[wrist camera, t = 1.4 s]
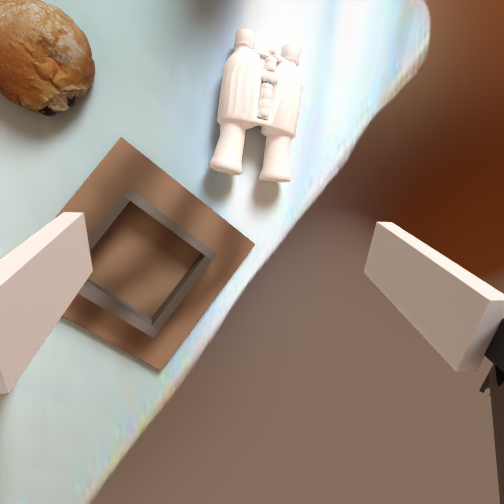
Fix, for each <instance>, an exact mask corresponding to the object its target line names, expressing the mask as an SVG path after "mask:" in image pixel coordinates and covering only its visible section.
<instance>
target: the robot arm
mask: <svg viewBox="0 0 504 504" xmlns="http://www.w3.org/2000/svg"><path fill="white" fill-rule="evenodd" d="M92 271H93V268H92V262H91V256H90V249H89V243H88V237H87V230H86V224H85V218H84V213H80V212H63V213H62V214H60V215H59V216H58V217H56V218H55V219H54V220H52V221H51V222H50V223H48V224H47V225H46V226H44V227H43V228H42V229H41V230H39V231H38V232H37V233H35V234H34V235H33V236H31V237H30V238H29V239H27V240H26V241H25V242H23V243H22V244H21V245H19V246H18V247H17V248H15V249H14V250H13V251H11V252H10V253H9V254H7V255H6V256H5V257H3V258H2V259H1V260H0V394H6V393H10V391H11V390H12V388H13V387H14V385H15V384H16V382H17V381H18V379H19V378H20V376H21V375H22V374H23V372H24V371H25V369H26V368H27V366H28V365H29V363H30V362H31V360H32V359H33V358H34V356H35V355H36V353H37V352H38V350H39V349H40V347H41V346H42V344H43V343H44V341H45V340H46V339H47V337H48V336H49V334H50V333H51V331H52V330H53V328H54V327H55V325H56V324H57V323H58V321H59V320H60V318H61V317H62V315H63V314H64V312H65V311H66V309H67V308H68V306H69V305H70V304H71V302H72V301H73V299H74V298H75V296H76V295H77V293H78V292H79V290H80V289H81V288H82V286H83V285H84V283H85V282H86V280H87V279H88V277H89V276H90V274H91V273H92ZM364 273H365V274H366V275H367V276H368V277H369V279H371V281H372V282H373V283H374V284H375V285H376V286H377V287H378V288H379V289H380V290H381V291H382V292H383V294H384V295H386V297H387V298H388V299H389V300H390V301H391V302H392V303H393V304H394V305H395V306H396V308H397V309H398V310H399V311H400V312H401V313H402V314H403V315H404V316H405V317H406V318H407V319H408V320H409V322H410V323H411V324H412V325H413V326H414V327H415V328H416V329H417V330H418V331H419V332H420V333H421V334H422V336H423V337H424V338H425V339H426V340H427V341H428V342H429V343H430V344H431V345H432V346H433V347H434V348H435V349H436V351H437V352H438V353H439V354H440V355H441V356H442V357H443V358H444V359H445V360H446V361H447V362H448V363H449V365H451V367H452V368H453V369H454V370H455V371H456V372H458V371H476V370H477V369H478V368H479V366H480V364H481V362H482V359H483V358H484V356H486V357H487V358H488V359H489V360H490V361H491V362H493V366H492V367H491V369H490V371H489V373H488V375H487V377H486V379H485V380H484V382H483V384H482V386H481V388H480V392H484V391H485V389H487V388H490V396H491V405H492V416H493V427H494V438H495V450H496V461H497V472H498V484H499V495H500V504H504V294H503V293H501V292H499V291H498V290H496V289H495V288H493V287H491V286H490V285H488V284H487V283H485V282H484V281H482V280H480V279H479V278H478V277H476V276H475V275H473V274H471V273H470V272H468V271H467V270H465V269H464V268H462V267H460V266H459V265H457V264H456V263H454V262H453V261H451V260H450V259H448V258H446V257H445V256H443V255H442V254H440V253H439V252H437V251H436V250H434V249H432V248H431V247H429V246H428V245H426V244H425V243H423V242H422V241H420V240H418V239H417V238H415V237H413V236H412V235H411V234H409V233H407V232H406V231H404V230H403V229H401V228H400V227H398V226H396V225H395V224H393V223H392V222H377V223H376V227H375V231H374V235H373V239H372V243H371V246H370V250H369V254H368V258H367V262H366V266H365V270H364Z"/></svg>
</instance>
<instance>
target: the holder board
mask: <svg viewBox="0 0 504 504" xmlns="http://www.w3.org/2000/svg"><path fill="white" fill-rule="evenodd" d="M63 212H80V213H84V218H85V224H86V230H87V237H88V243H89V249H90V256H91V262H92V268H93V271H92V273H91V274H90V276H89V277H88V279H87V280H86V282H85V283H84V285H83V286H82V288H81V289H80V290H79V292H78V293H77V295H76V296H75V298H74V299H73V301H72V302H71V304H70V305H69V306H68V308H67V309H66V311H65V312H64V314H63V315H62V316H63V317H65V318H67V319H69V320H70V321H72V322H74V323H76V324H78V325H79V326H81V327H83V328H85V329H87V330H88V331H90V332H92V333H94V334H96V335H97V336H99V337H101V338H103V339H105V340H106V341H108V342H110V343H112V344H114V345H115V346H117V347H119V348H121V349H123V350H124V351H126V352H128V353H130V354H132V355H133V356H135V357H137V358H139V359H141V360H142V361H144V362H146V363H148V364H150V365H151V366H153V367H155V368H157V369H159V370H160V371H161V370H162V369H163V367H164V366H165V365H166V363H167V362H168V361H169V359H170V358H171V357H172V355H173V354H174V353H175V351H176V350H177V349H178V347H179V346H180V345H181V343H182V342H183V341H184V339H185V338H186V336H187V335H188V334H189V332H190V331H191V330H192V328H193V327H194V326H195V324H196V323H197V322H198V320H199V319H200V318H201V316H202V315H203V314H204V312H205V311H206V310H207V308H208V307H209V306H210V304H211V303H212V302H213V300H214V299H215V298H216V296H217V295H218V294H219V292H220V291H221V290H222V288H223V287H224V286H225V284H226V283H227V281H228V280H229V279H230V277H231V276H232V275H233V273H234V272H235V271H236V269H237V268H238V267H239V265H240V264H241V263H242V261H243V260H244V259H245V257H246V256H247V255H248V253H249V252H250V251H251V249H252V248H253V247H254V245H255V244H254V243H253V242H252V241H251V240H249V239H248V238H247V237H246V236H244V235H243V234H242V233H241V232H239V231H238V230H237V229H236V228H234V227H233V226H232V225H231V224H229V223H228V222H227V221H226V220H224V219H223V218H222V217H221V216H219V215H218V214H217V213H216V212H214V211H213V210H212V209H211V208H209V207H208V206H207V205H206V204H204V203H203V202H202V201H201V200H199V199H198V198H197V197H196V196H194V195H193V194H192V193H191V192H189V191H188V190H187V189H186V188H184V187H183V186H182V185H181V184H179V183H178V182H177V181H176V180H174V179H173V178H172V177H171V176H169V175H168V174H167V173H166V172H164V171H163V170H162V169H161V168H159V167H158V166H157V165H156V164H154V163H153V162H152V161H151V160H149V159H148V158H147V157H146V156H144V155H143V154H142V153H141V152H139V151H138V150H137V149H136V148H134V147H133V146H132V145H131V144H129V143H128V142H127V141H126V140H124V139H123V138H122V137H121V138H120V139H119V140H118V141H117V143H116V144H115V145H114V146H113V148H112V149H111V150H110V151H109V153H108V154H107V155H106V156H105V157H104V159H103V160H102V161H101V162H100V164H99V165H98V166H97V167H96V168H95V170H94V171H93V172H92V173H91V175H90V176H89V177H88V178H87V179H86V181H85V182H84V183H83V184H82V186H81V187H80V188H79V189H78V191H77V192H76V193H75V194H74V195H73V197H72V198H71V199H70V200H69V202H68V203H67V204H66V205H65V206H64V208H63V209H62V210H61V211H60V213H59V214H58V215H57V216H56V217H58V216H59V215H60V214H62V213H63ZM56 217H55V218H56Z"/></svg>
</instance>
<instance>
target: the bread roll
mask: <svg viewBox="0 0 504 504" xmlns="http://www.w3.org/2000/svg"><path fill="white" fill-rule="evenodd" d="M91 56H92V53H91V49H90V45H89V42H88V40H87V37H86V36H85V34H84V32H83V31H82V30H81V29H80V28H79V27H78V26H77V25H76V24H75V23H74V22H73V20H72V19H71V18H70V17H69V16H68V15H66V14H65V13H64V12H63V11H62V10H61V9H59V8H57V7H54V6H51V5H50V4H46V3H44V2H43V1H41V0H0V92H1V93H2V94H3V95H4V96H5V97H6V98H7V99H9V100H10V101H13V102H15V103H17V104H19V105H20V106H23V107H26V108H28V109H30V110H33V111H38V112H41V113H42V114H43V115H46V116H54V115H55V114H56V113H57V111H66V110H67V109H68V108H69V107H72V106H73V105H74V103H75V101H76V100H77V99H79V98H80V97H82V96H84V95H85V93H86V92H87V90H88V89H89V87H90V86H92V82H93V79H94V75H95V65H94V61H93V59H92V57H91Z"/></svg>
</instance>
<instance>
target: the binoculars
mask: <svg viewBox="0 0 504 504" xmlns="http://www.w3.org/2000/svg"><path fill="white" fill-rule="evenodd" d="M254 43H255V34H254V32H253V31H251V30H249V29H245V28H241V29H239V30H237V32H236V38H235V44H234V49H235V51H234V53H233V54H232V55H231V56H230V57H229V58H228V60H227V61H226V64H225V66H224V69H223V75H222V83H221V91H220V99H219V107H218V115H217V122H218V123H219V124H220V137H219V140H218V142H217V146H216V149H215V152H214V155H213V157H212V159H211V161H210V163H209V167H210V168H211V169H213V170H215V171H218V172H222V173H226V174H231V175H241V173H242V164H241V162H242V154H243V147H244V140H245V133H246V130H247V129H250V128H253V127H255V126H262V130H261V133H262V134H263V135H264V136H266V137H267V138H266V145H265V153H264V160H263V167H262V170H261V173H260V180H263V181H268V182H290V181H291V174H290V170H289V147H290V142H291V140H292V139H293V138H294V137H295V134H296V127H297V121H298V114H299V107H300V100H301V94H302V81H301V77H300V75H299V72H298V70H297V66H298V63H299V62H298V61H299V54H300V49H299V48H298V47H297V46H295V45H290V44H289V45H285V46H283V47H282V50H281V56H279V55H277V54H274V53H275V51H274V50H270V51H269V52H267V51H264V50H258V49H254ZM261 59H265V63H264V70H263V66H262V62H261ZM264 82H265V83H264ZM263 83H264V84H263ZM259 118H261V119H259Z"/></svg>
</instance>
